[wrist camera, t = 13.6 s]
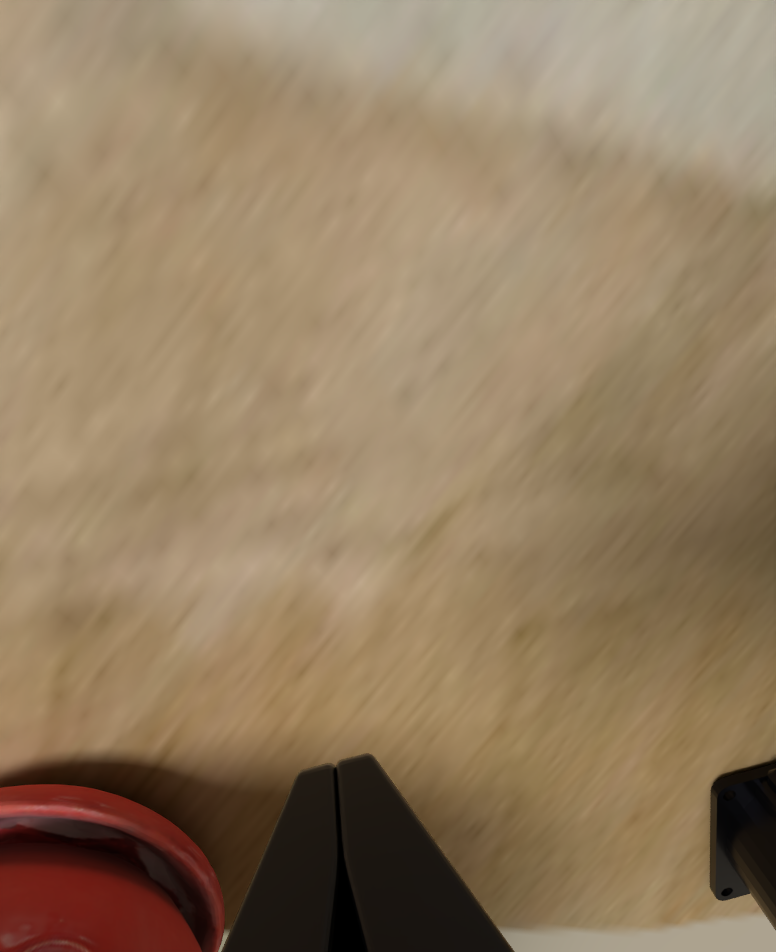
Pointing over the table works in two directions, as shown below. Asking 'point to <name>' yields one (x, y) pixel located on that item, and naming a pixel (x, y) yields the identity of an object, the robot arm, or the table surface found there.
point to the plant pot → (100, 876)
